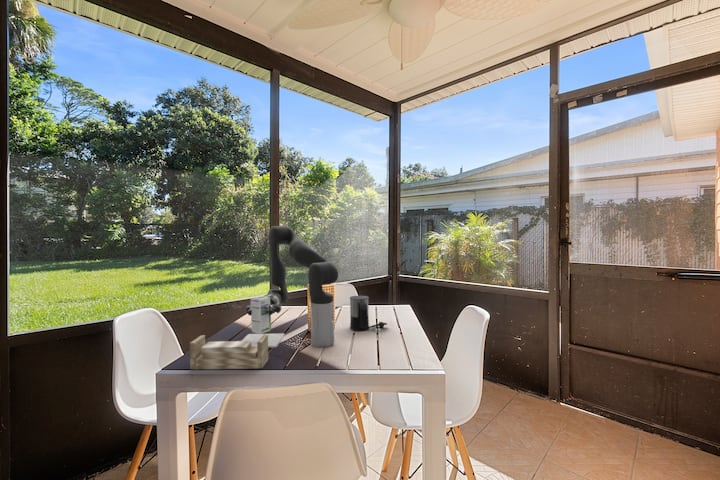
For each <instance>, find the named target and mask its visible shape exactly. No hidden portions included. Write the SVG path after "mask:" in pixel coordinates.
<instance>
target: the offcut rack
mask: <svg viewBox="0 0 720 480" xmlns="http://www.w3.org/2000/svg"><path fill="white" fill-rule="evenodd" d="M268 360H269V348H268V335H263V336H262V337H261V338H260V339H259V341H258V342H257V346H251V341H242V340H235V341H233V340H232V341H225V340H224V341H223V340H222V341H208V342H207V343H206V335H205V334H204V335H202V334H201V335H199V336H198V337H196V338H195V339H194V340H192V341H190V342H189V362H190V365H189V367H190V370H234V369H235V370H240V369H241V370H242V369H243V370H246V369H247V370H249V369H250V370H251V369H252V370H253V369H255V370H256V369H263V368H264V367H265V365H266V363H267V362H268Z"/></svg>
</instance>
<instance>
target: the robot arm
mask: <svg viewBox="0 0 720 480" xmlns="http://www.w3.org/2000/svg"><path fill="white" fill-rule="evenodd" d="M268 245H269V253H270V261H271V262H270V263H271V275H270V276H271V279H270V282H271V284H272V285H273V286H276V287H277V288H271V289H269V290H268V291H267V295H266V296H268V297H270V310H269V315H271V316H272V315H273V314H276V313H277V314H279V313H280V312H281V311H282V304H286V303H287V302H288V300H289V292H288V288H287V283H286V282H287V281H286V279H287V278H286V275H287V274H286V273H287V270H286V266H285V263H284V261H283V260H282V258H281V256H280V253H279V251H278V246H279V245H288V246H289V247H288V253H289V256H290V257H291V259H293V260H294V261H295V262H296V263H297V264H298V265H300V266H303V267H305V268H308V270H307V271H308V279H307V280H308V292H309V298H310V344H311V346H313V347H315V348H316V347H317V348H325V347H330V346H332V347H333V346H334V344H335V318H334V295H333V294H332V293H331V292H326V291H324V290H323V286H327V285H331V284H334V283H336V282H337V280H338V278H339V271H338V269H337V266H336V265H335V264H334V263H333V262H332V261H330V260H328V259H327V258H325V257H324V256H322V255H320V254H319V253H318V251H315V250H314V249H313V248H312V247H311V246H310V245H309V244H308V243H306V241H304V240H303V239H301V238H300V237H299V236H298V235H297V233H296V232H295V231H294V230H293V229H292V227H290V226H287V225H273V226H271V227H270V228H269V231H268ZM245 310H246V314H247V315H248V316H251V304H249V305H247V306H246V309H245Z"/></svg>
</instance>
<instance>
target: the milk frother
mask: <svg viewBox="0 0 720 480" xmlns="http://www.w3.org/2000/svg"><path fill="white" fill-rule="evenodd" d="M369 298H370V297H369V296H368V295H353V296H349V302H350V305H349V308H350V311H349V312H350V318H349V319H350V323H349V325H350V326H349V329H350V330H352V331H357V332H359V331H367V330H369V329H370V328H375V327H379V328H380V329H382V328H384V326H387V325H388V324H387V322H383V321H380V322H378V323H377V324H373V325H370V322H369Z"/></svg>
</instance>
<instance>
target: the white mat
mask: <svg viewBox="0 0 720 480" xmlns="http://www.w3.org/2000/svg"><path fill="white" fill-rule="evenodd" d="M263 335H268V349H269V348H277V347H278V345H279V344H280V343H281V341H282V339H283V338H284V336H285V333H262V334H258V333H247V335H246V336H245V337H243V339H242V340H241V341H251V346H257V342H258V341H259V339H260V338H261V337H262V336H263Z"/></svg>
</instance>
